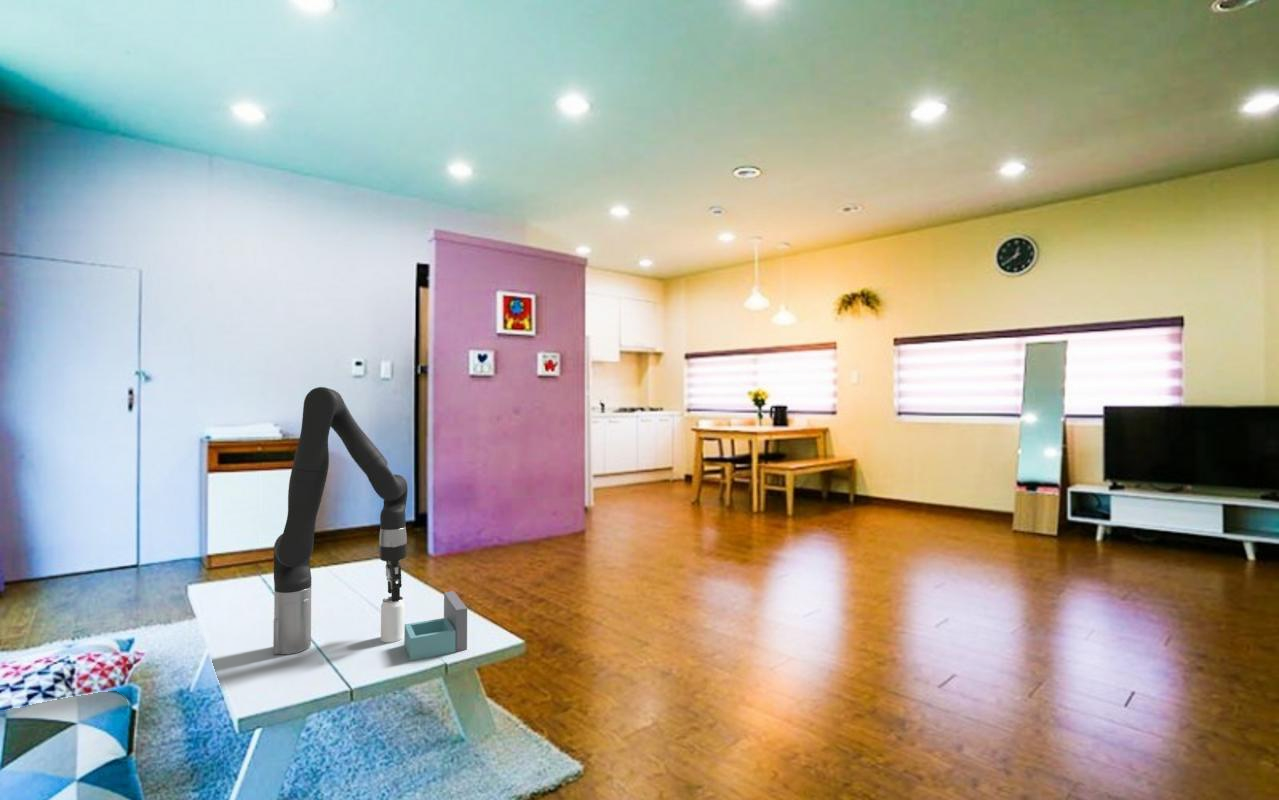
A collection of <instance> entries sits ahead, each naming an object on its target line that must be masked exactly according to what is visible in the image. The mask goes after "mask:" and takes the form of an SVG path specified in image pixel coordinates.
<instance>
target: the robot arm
mask: <svg viewBox="0 0 1279 800" xmlns="http://www.w3.org/2000/svg"><path fill="white" fill-rule="evenodd" d="M331 429H332V430H333V431H334V432H335V433H336V434H337V435H338V437H339V438H340V440H341V442H342V443H343V445H344V446H345V448H346V450H347V452H348V453H349V455H350V457H351V458H352V459H353V461H354V462H355V463H356V464H357V466H358V467H359V468H360V470H361V471H362V472H363V473H364V474H365V475H366V478H368V479H367V480H368V481H369V483H370V485H371V487H372V489H373V490H374V491H375V494H377V495H378V496H379V497H380V498H381V499H382V500H383V507H382V509H381V511H380V516H379V517H380V519H379V523H380V524H379V526H380V530H379V559H380V561H382V562H385V563H386V564H385V577H386V581H387V592H388V594H391V596H392V601H393V602H395V601H399V600H400V596H401V589H400V588H402V586H403V585H402V564H401V563H400V560H404V559H405V558H407V555H408V553H407V552H408V551H407V550H408V548H407V547H408V545H407V543H408V540H407V536H408V535H407V527H406V523H407V522H406V520H407V519H406V507H407V500H408V493H409V492H408V491H409V490H408V482H407V480H406V479H405V478H404V476H402V475H400V474H393V472H392V471H391V470H390V468H389V467H388V461H387V459H386V458H385V456H384V455H383V454H382V453H381V451H380V450H379V449H378V447H377V446H376V445H375V444H374V443H373V441H372V440H371V439H370V438H369V437H368V436H367V434H366V433H365V432H364V431H363V430H362V429H361V427H360V425H359V424H358V423H357V421H356V420H355V418H354V417H353V416H352V413H351V412H350V410H349V408H348V407H347V405H346V403H345V400H344V399H343V397H342V396H341V394H340V393H339V392H338V391H336V390H334V389H331V388H328V387H325V386H319V387H314V388H313V389H311V390H309V391H308V393H307V394H306V396H305V398H304V401H303V409H302V418H301V429H300V435H299V438H298V443H297V446H296V451H295V455H294V459H293V464H292V467H291V468H292V469H291V472H290V477H289V482H288V490H287V495H288V496H287V517H286V523H285V525H284V529H283V532H282V533H281V534H280V535H279V536H278V537H277V539H276V540H275V542H274V545H273V581H274V582H273V583H274V585H273V586H274V592H273V593H274V595H273V596H274V598H273V599H274V600H273V601H274V602H273V603H274V607H273V610H274V612H273V613H274V614H273V644H272V645H273V653H272V654H275V655H291V654H298V653H301V652H303V651H306V650H308V649H309V648H310V647H311V646H312V573H311V557H312V554H313V553H314V543H315V533H316V532H315V530H316V522H317V515H318V514H319V513H318V512H319V511H320V510H319V509H320V506H321V502H322V500H323V499H322V498H323V496H324V495H323V494H324V490H325V487H326V483H327V477H328V472H329V465H330V458H329V457H330V454H329V435H330V430H331Z"/></svg>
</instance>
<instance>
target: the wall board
mask: <svg viewBox="0 0 1279 800" xmlns="http://www.w3.org/2000/svg"><path fill="white" fill-rule="evenodd" d="M443 618H448V620H449V621H450V623H451V624H452V626H453V627H454V629H455V631H456V652H461V651H462V652H463V651H467V650H468V607H467V606H466V604H465V603H464V602H463V600H461V598H460V596H458V594H457V593H456V592H455V590H451V591H444V593H443ZM456 652H455V653H456Z"/></svg>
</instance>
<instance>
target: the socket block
mask: <svg viewBox="0 0 1279 800" xmlns="http://www.w3.org/2000/svg"><path fill="white" fill-rule="evenodd" d="M403 639H404V640H403V641H404V642H403V644H404V645H403V646H404V648H405V650H406V653H407V656H408V659H409V660H410V661H411V662H412V661H414V660H415V661H416V660H422V659H426V658H432V657H437V656H443V655H448V654H449V655H450V654H453V653H456V631H455V629H454V627H453V626H452V624H451V623H450V621H449V620H448V618H444V617H442V618H435V619H430V620H423V621H417V622H411V623H404V638H403Z"/></svg>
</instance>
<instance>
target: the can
mask: <svg viewBox="0 0 1279 800" xmlns="http://www.w3.org/2000/svg"><path fill="white" fill-rule="evenodd" d="M403 599H404V598H403V596H401V595H400V600H399V601H395V602H393V601H392V595H391V596H387V597H384V598H383V599H382V603H381V605H380V641H381V642H383V643H395V642H398V641H401V640H403V639H404V634H405V602H404V601H405V600H403Z"/></svg>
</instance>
